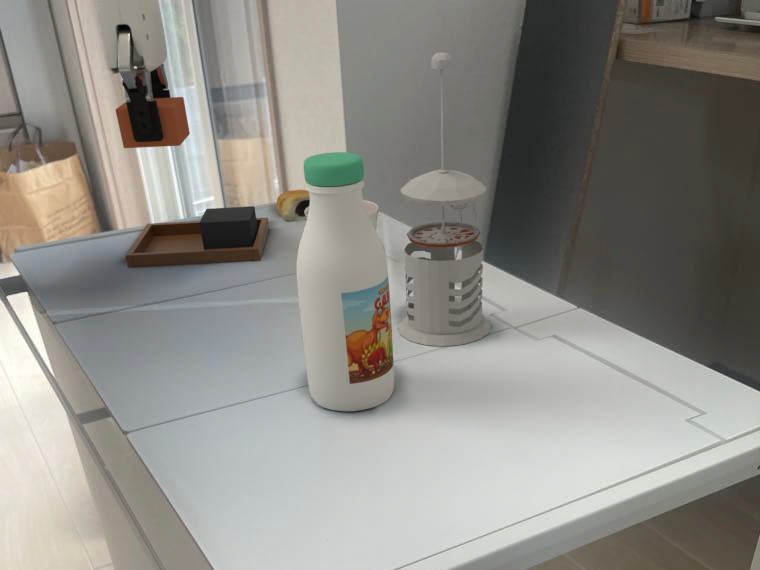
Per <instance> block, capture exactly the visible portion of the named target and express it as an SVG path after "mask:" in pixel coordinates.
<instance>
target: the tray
mask: <svg viewBox="0 0 760 570" xmlns="http://www.w3.org/2000/svg"><path fill="white" fill-rule="evenodd" d="M256 220H257V228H258V232H257V236H256V239H255V242H254V245H253V247H243V248H224V249H205V250H204V247H203V242H202V236H201V230H200V225H199V222H200V220H194V221H193V220H191V221H175V222H174V221H173V222H171V221H170V222H156V223H155V222H154V223H153V222H152V223H146V225H145V226H144V228H143V229H142V230H141V232H140V233H139V234H138V236H137V238H136V239H135V240H134V242H133V244H132V245H131V246H130V248H129V249H128V251H127V252H126V254H125V256H124V257H125V260H126V265H127V268H128V269H132V268H151V267H154V268H155V267H170V266H171V267H173V266H187V265H189V266H191V265H206V264H207V265H208V264H209V265H210V264H227V263H244V262H260V261H261V260H262V256H263V252H264V249H265V245H266V241H267V240H268V239H267V238H268V235H269V231H270V225H269V217H256Z"/></svg>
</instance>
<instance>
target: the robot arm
mask: <svg viewBox="0 0 760 570" xmlns="http://www.w3.org/2000/svg"><path fill="white" fill-rule="evenodd" d="M94 4H95V12H96V17H97V23H98V27H99V29H98V30H99V34H100V39H101V45H102V50H103V55H104V61H105V65H106V69H107V70H108V71H109V72H110V73H111V74H113V75H114V74H115V75H117V74H118V73H119V75H120V77H121V84H122V87H123V94H124V99H125V102H126V104H127V109H128V113H129V118H130V123H131V127H132V132H133V137H134V140H135V141H136V142H151V141H161V140H162V139H163V132H162V127H161V122H160V116H159V111H158V106H157V101H156V100H155V101H153V98H171V92H170V89H169V82H168V78H167V75H166V71H165V68H164V67H165V65H164V63H165V62H166V61H167V58H168V49H167V48H168V47H167V41H166V35H165V29H164V24H163V17H162V13H161V8H160V3H159V0H94ZM135 67H136V68H135Z"/></svg>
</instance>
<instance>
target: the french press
mask: <svg viewBox="0 0 760 570" xmlns="http://www.w3.org/2000/svg"><path fill="white" fill-rule="evenodd" d="M430 66H431V67H430V68H431V69H435V70H438V69H439V70H440V71H439V73H440V74H439V75H440V77H439V79H440V80H439V81H440V147H441V148H440V149H441V150H440V153H441V156H440V158H441V162H440V163H441V168H439V169H437V170H436V169H435V170H432V171H429V172H425V173H422V174H420V175H418V176H416V177H414V178H412V179H410V180H409V181H408V182H407V183H406V184H405V185H404V186H402V187H401V189H400V190H399V191H400V192H401V194H402V196H403V198H404V200H406V201H408V202H410V203H411V202H412V203H414V204H420V205H424V206H441V221H432V222H430V221H429V222H424V223H423V224H422V223H421V224H418V225H415V226H413V227H412V228H410V229H409V230H408V232H407V233H406V236H407V238H408V240H409V242H410V243H407V244H406V245H405V247H404V251H403V253H404V271H405V297H406V298H405V303H406V304H405V305H406V315H405V317H404V318H403V319H402V320H401V322H400V323H399V325H398V326H397V330H398V334H399V335H400V336H401V337H403V338H404V339H406V340H407V341H409V342H413V343H416V344H420V345H424V346H433V347H451V346H461V345H467V344H469V343H472V342H476V341H479V340H481V339H482V338H484V337H485V336H487V335H489V333H490V331H491V329H492V324H491V322H490V321H489V319H488V318H487V317H486V316H485V315H484V314H483V302H482V299H483V289H482V287H483V282H484V281H483V280H484V278H483V277H482V275H483V269H484V265H483V264H482V262H483V260H484V247H483V245H482V244H481V242H480V241H477V240H478V238H479V236H480V234H481V231H480V229H479V228H478V226H477V225H478V223H477V222H478V220H477V218H478V217H477V214H478V213H477V209H476V204H475V201H477V200H479V199H481V198H483V196H484V194H485V192H486V190H487V187H486V186H485V185H484V183H482V182H481V181H479V180H477V179H476V178H475V177H473V176H472V175H470V174H468V173H464V172H462V171H459V170H449V169H447V168H445V165H444V164H445V157H444V154H445V153H444V152H445V150H444V148H445V147H444V69H452V68H453V58H452V56H451V55H450V54H449V53H448V52H443V51H441V52H436V53H435V54H434V55H433V56H432V57H431V61H430ZM468 203H471V204H472V209H473V214H474V215H473V217H474V221H473V224H470V223H468V222H463V213H462V210H465V209H466V208H467V207H468ZM461 204H462V205H463V206H462V205H461ZM455 205H457V206H455ZM445 206H450V207H451V208H452V209H453V210H458V214H459V215H458V217H459V221H458V222H457V221H455V222H454V221H450V220H448V221H447V220H446V221H445ZM455 248H456V249H455ZM460 249H461V258H460V259H457V258H458V255H459V252H460ZM455 250H456V251H455ZM414 252H426V253H430V258H428V257H424V256H421V257H415V256H412V254H413V253H414ZM411 281H412V283H410V282H411ZM456 284H461V288H460V289H457V288H455V287H456ZM411 293H413V295H411ZM456 297H459V298H460V297H461V300H460V302H458V301H456Z"/></svg>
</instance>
